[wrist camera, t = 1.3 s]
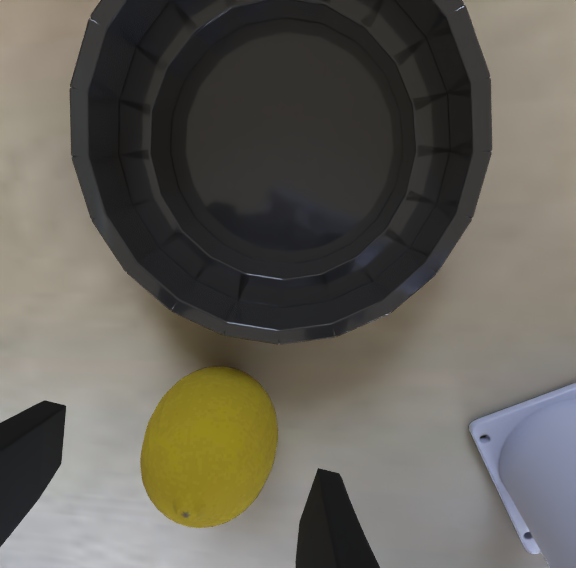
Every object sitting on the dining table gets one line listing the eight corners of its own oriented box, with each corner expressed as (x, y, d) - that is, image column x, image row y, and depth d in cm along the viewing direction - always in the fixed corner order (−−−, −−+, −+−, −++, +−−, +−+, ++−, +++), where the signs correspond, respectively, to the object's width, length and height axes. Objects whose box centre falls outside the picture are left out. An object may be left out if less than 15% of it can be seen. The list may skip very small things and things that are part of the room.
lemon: (277, 334, 21) (255, 445, 13) (288, 428, 22) (275, 574, 15) (169, 342, 21) (87, 452, 14) (188, 433, 23) (126, 576, 15)
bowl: (489, 218, 18) (550, 243, 14) (230, 338, 21) (206, 395, 16) (362, -111, 15) (384, -230, 10) (73, 82, 18) (-16, 59, 13)
